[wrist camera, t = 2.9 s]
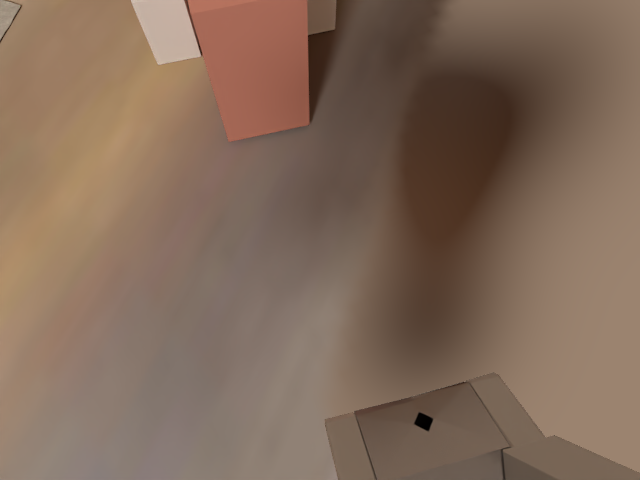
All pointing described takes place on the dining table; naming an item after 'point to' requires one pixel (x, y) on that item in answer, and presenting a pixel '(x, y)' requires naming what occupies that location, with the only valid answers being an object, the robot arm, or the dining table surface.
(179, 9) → the dock
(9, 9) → the condiment
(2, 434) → the dining table surface
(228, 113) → the plug
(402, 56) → the dining table surface
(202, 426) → the dining table surface
